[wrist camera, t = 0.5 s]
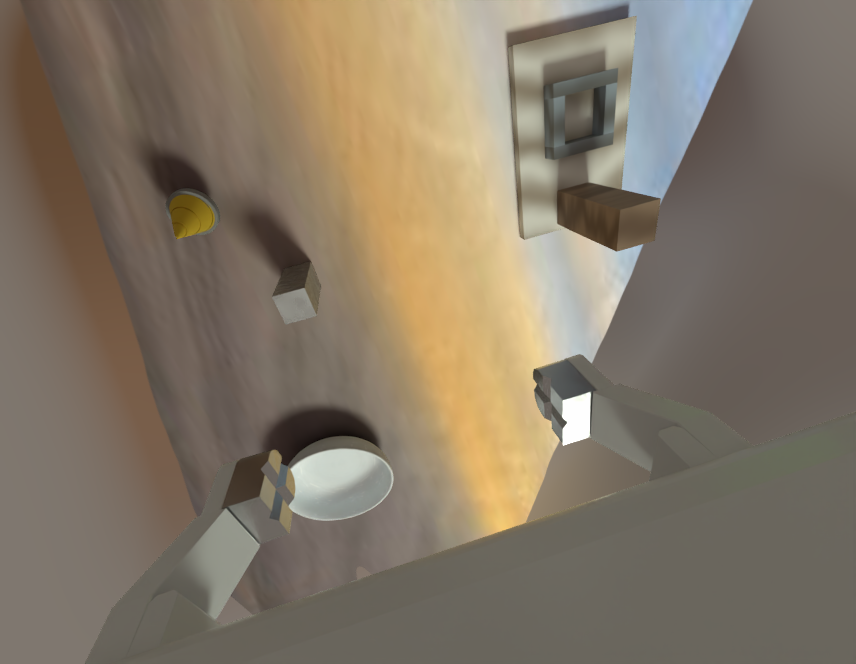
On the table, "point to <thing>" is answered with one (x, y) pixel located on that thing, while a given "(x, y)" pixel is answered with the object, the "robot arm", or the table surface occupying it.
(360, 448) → the serving bowl
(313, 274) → the gray rectangular block
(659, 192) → the table surface
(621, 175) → the socket board with post
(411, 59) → the table surface
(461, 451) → the table surface
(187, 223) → the yellow cone on disc
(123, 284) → the table surface
